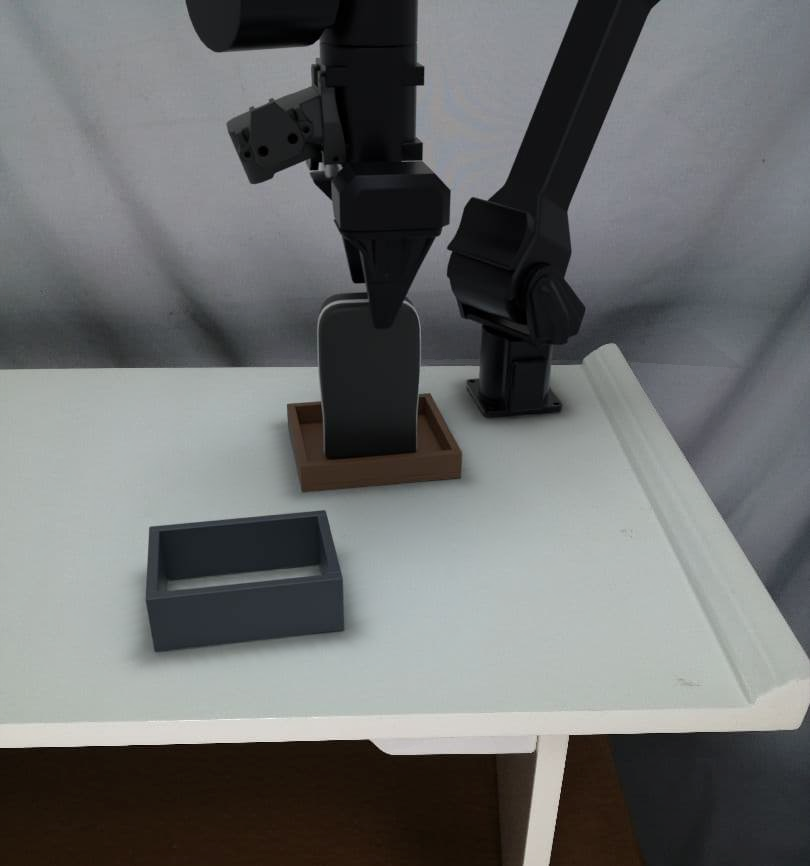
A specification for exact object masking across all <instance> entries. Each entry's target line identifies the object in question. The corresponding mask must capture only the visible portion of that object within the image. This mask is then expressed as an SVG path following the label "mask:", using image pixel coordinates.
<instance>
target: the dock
mask: <svg viewBox="0 0 810 866" xmlns="http://www.w3.org/2000/svg"><path fill="white" fill-rule="evenodd" d="M147 541H148V544H147V562H146V563H147V565H146V584H145V605H146V611H147V617H148V623H149V628H150V635H151V639H152V645H153V651H154V653H158V652H168V651H176V650H177V651H178V650H185V649H193V648H201V647H210V646H211V647H212V646H221V645H227V644H237V643H244V642H252V641H253V642H255V641H263V640H270V639H279V638H287V637H297V636H304V635H314V634H321V633H322V634H323V633H332V632H339V631H345V607H344V606H345V603H344V601H345V600H344V578H343V574H342V571H341V566H340V562H339V558H338V554H337V551H336V546H335V541H334V537H333V534H332V530H331V526H330V522H329V518H328V514H327V510H326V509H322V510H310V511H300V512H299V511H298V512H290V513H280V514H269V515H259V516H247V517H237V518H226V519H216V520H205V521H204V520H203V521H195V522H193V521H192V522H184V523H173V524H163V525H162V524H161V525H152V526H149V527H148V540H147ZM316 565H319V569H320V574H315V575H307V576H296V577H288V578H287V577H286V578H279V579H272V580H271V579H268V580H261V581H250V582H242V583H232V584H231V583H230V584H222V585H212V586H204V587H194V588H193V587H192V588H185V589H174V590H168V581H171V580H172V581H173V580H182V579H191V578H202V577H211V576H220V575H230V574H239V573H249V572H258V571H268V570H279V569H288V568H297V567H307V566H316Z"/></svg>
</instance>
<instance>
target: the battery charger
mask: <svg viewBox="0 0 810 866" xmlns="http://www.w3.org/2000/svg"><path fill="white" fill-rule="evenodd" d="M316 327H317V328H316V345H317V348H316V351H317V352H316V353H317V370H318V371H317V372H318V383H319V392H320V393H319V394H320V401H321V404H322V413H323V434H324V448H323V449H324V454H325V455H326V457H328V458H362V457H374V456H385V455H397V454H409V453H416V450H417V409H418V398H419V394H420V385H421V384H420V383H421V382H420V381H421V380H420V379H421V364H422V362H421V361H422V337H421V336H422V332H421V331H422V330H421V319H420V316H419V314H418V311H417V310H416V308H415V306H414V304H413V302H412V301H411V299H410V298H408V297H407V296H406V297H405V299H404V301H403V304H402V306H401V308H400V310H399V312H398V314H397V316H396V318H395V321H394V323H393V325H392V327H390V328H387V329H376V328H375V327H374V325H373V321H372V316H371V311H370V306H369V300H368V295H367V291H362V292H361V291H360V292H342V293H336V294H333V295H331V296H329V297H327V298H326V299H325V300H324V301H323V302H322V304H321V306H320V308H319V310H318V319H317V326H316Z"/></svg>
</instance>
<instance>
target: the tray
mask: <svg viewBox="0 0 810 866" xmlns="http://www.w3.org/2000/svg"><path fill="white" fill-rule="evenodd" d="M286 416H287V417H286V418H287V427H288V433H289V438H290V443H291V447H292V451H293V457H294V461H295V466H296V470H297V475H298V479H299V484H300V489H301V493H307V492H319V491H329V490H330V491H331V490H340V489H350V488H351V489H353V488H364V487H373V486H383V485H386V486H387V485H396V484H405V483H416V482H417V483H418V482H428V481H430V482H431V481H440V480H450V479H461V478H462V466H463V465H462V464H463V451H462V450H461V448H460V447H459V445H458V443H457V441H456V439H455V437H454V435H453V433H452V431H451V430H450V427H449V426H448V424H447V421H446V420H445V418H444V417H443V414H442V412H441V411H440V409H439V407H438V405H437V403H436V401H435V399H434V398H433V396H432V394H431V393H430V392H425V393H419V398H418V409H417V450H416V453H409V454H397V455H385V456H374V457H362V458H328V457H326V455H325V454H324V449H323V448H324V434H323V413H322V404H321V400H318V401H317V400H316V401H306V402H305V401H304V402H292V403H291V402H290V403H286Z"/></svg>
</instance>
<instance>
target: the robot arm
mask: <svg viewBox="0 0 810 866" xmlns="http://www.w3.org/2000/svg"><path fill="white" fill-rule="evenodd" d="M661 1H662V0H577V1H576V5H575V7H574V10H573V11H572V14H571V16H570V19H569V22H568V25H567V27H566V30H565V32H564V34H563V37H562V39H561V42H560V44H559V47H558V50H557V52H556V55H555V57H554V60H553V62H552V65H551V66H550V70H549V73H548V75H547V78H546V80H545V82H544V85H543V87H542V90H541V92H540V95H539V97H538V100H537V102H536V104H535V108H534V111H533V112H532V115H531V118H530V121H529V122H528V125H527V128H526V131H525V133H524V135H523V138H522V140H521V143H520V145H519V148H518V151H517V153H516V155H515V158H514V161H513V162H512V163H513V164H512V165H511V168H510V171H509V173H508V176H507V179H506V180H505V182H504V184H503V185H502V187H500V188H499V189H498V190H496V192H495V193H493V195H491V196H490V197H489V198H488V199H487V200H486V199H483V198H479V197H475V196H472V197H470V198H469V200H468V201H467V202H466V204H465V206H464V207H463V211H462V214H461V217H460V222H459V224H458V227H457V230H456V232H455V234H454V236H453V237H452V239H451V240H450V242H449V243H448V244H447V246H446V250H447V251H450V252H451V253H450V256H449V260H448V263H447V267H446V278H447V279H449V284H450V289H451V291H452V293H453V295H454V297H455V300H456V303H457V304H456V305H457V307H458V311H459V315H460V317H461V319H464V320H468V321H469V320H470V321H472V322H474V323H477V324H479V325H481V335H480V355H479V356H480V357H479V373H478V378H468V379H466V381H465V387H466V388H467V390H468V392H469V393H470V395H471V396H472V398H473V400H474V401H475V403H476V405H477V407H478V408H479V410H480V411H481V413H482V415H484V416H485V417H499V416H513V415H525V414H539V413H550V412H551V413H552V412H560V411H562V410H563V405H564V404H563V402H562V401H561V400H560V398H558V396H557V395H556V393H555V392H554V391H553V389H551V387H550V382H551V371H552V361H553V353H554V346H555V345H557V346H563V345H566V344H568V340H569V338H571V337H575V336H577V335H578V334H579V332H580V329H581V326H582V323H583V320H584V316H585V313H586V310H587V308H586V306H585V305H584V303H583V302H582V300H581V299H580V298H579V297H578V295H577V294H576V292H575V291H574V289H573V288H572V286H570V284H569V283H568V281H567V280H566V279H565V278H566V274H567V270H568V267H569V264H570V261H571V258H572V252H573V251H572V240H571V232H570V223H569V213H568V212H569V208H570V205H571V203H572V200H573V197H574V195H575V192H576V191H577V188H578V186H579V184H580V180H581V178H582V176H583V173H584V170H585V168H586V166H587V164H588V161H589V159H590V157H591V154H592V152H593V150H594V147H595V144H596V142H597V139H598V137H599V135H600V133H601V130H602V127H603V125H604V123H605V120H606V118H607V116H608V113H609V110H610V108H611V106H612V103H613V101H614V98H615V96H616V95H617V91H618V89H619V86H620V84H621V82H622V79H623V77H624V74H625V72H626V70H627V67H628V64H629V62H630V60H631V57H632V55H633V53H634V50H635V47H636V46H637V43H638V40H639V38H640V35H641V34H642V31H643V28H644V26H645V24H646V22H647V19H648V16H649V15H650V12H651V11H652V9H653V8H655V6H657V4H659V2H661ZM184 3H185V6H186V9H187V13H188V17H189V19H190V22H191V25H192V27H193V30H194V32H195V33H196V35H197V37H198V38H199V40H200V41H201V42H202V44H203V45H204V46H205V47H206V48H207V49H209V50H210V51H212V52H213V53H217V54H218V53H219V54H220V53H233V52H235V53H236V52H248V51H249V52H250V51H264V50H277V49H278V50H279V49H293V48H306V47H309V46H314V44H315V43H317V42H318V41H319V57H315V63H311V65H310V74H311V75H310V77H311V86H308V87H305V88H303V89H300V90H298V91H295V92H292V93H289V94H286V95H283V96H281V97H279V98H276V99H275V98H273V97H271V98H269V99H268V102H266V103H264V104H262V105H259V106H257V107H255V106H254V105H252V106H249V108H248V110H247V111H246V112H243V113H240V114H239V115H237V116H234V117H233V118H230V119H229V120H228V121H227V122H226V128H227V133H228V135H229V138H230V140H231V142H232V145H233V147H234V149H235V152H236V154H237V156H238V158H239V161H240V163H241V166H242V168H243V170H244V173H245V175H246V178H247V180H248V182H249V184H251V185H258V184H262V183H265V182H267V181H270V180H272V179H273V178H274V176H275V174H277V173H280V172H282V171H285V170H286V169H289V168H291V167H293V166H296V165H299V164H300V163H303V162H305V164H306V166H307V169H308V170H309V171H310V172H309V177H310V178H311V180H312V182H313V183H314V186H316V187H317V188H318V189H319V190H320V191H321V192H322V193H323V195H325V197H327V198H328V199H329V200H330V201H331V203H332V212H333V218H334V219H333V223H334V224H335V227H336V228H337V231H338V232H339V234H340V236H341V240H342V245H343V248H344V253H345V256H346V257H345V258H346V261H347V266H348V270H349V274H350V279H351V281H352V283H353V284H355V285H357V284H359V285H360V284H365V288H366V289H365V290H366V292H367V295H368V300H369V306H370V311H371V316H372V321H373V325H374V327H375V328H376V329H387V328H390V327H392V325H393V323H394V321H395V318H396V316H397V314H398V312H399V310H400V308H401V306H402V304H403V301H404V299H405V297H407V296H408V293H409V291H410V289H411V286H412V285H413V282H414V280H415V279H416V276H417V274H418V273H419V270H420V268H421V266H422V264H423V263H424V261H425V259H426V257H427V255H428V253H429V251H430V250H431V248H432V245H433V244H434V242H435V240H436V238H437V237H440V236H441V235H442V233H443V228H444V227H447V226H449V225H450V224H451V223H450V222H451V196H452V189H450V187H449V186H447V184H446V183H445V182H444V181H443V180H442V179H441V178H440V177H439V175H437V174H436V172H435V171H433V170H432V169H431V168H430V167H429V166H428V164H426V163H425V162H424V161H423V158H424V157H423V155H424V142H423V141H422V140H421V139H419V138H418V137H417V96H418V95H417V90H418V88H417V87H422V86H423V87H424V86H425V70H426V69H425V65H423V64H421V63H419V62H418V25H419V0H184ZM320 163H321V170H319V167H320Z"/></svg>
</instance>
